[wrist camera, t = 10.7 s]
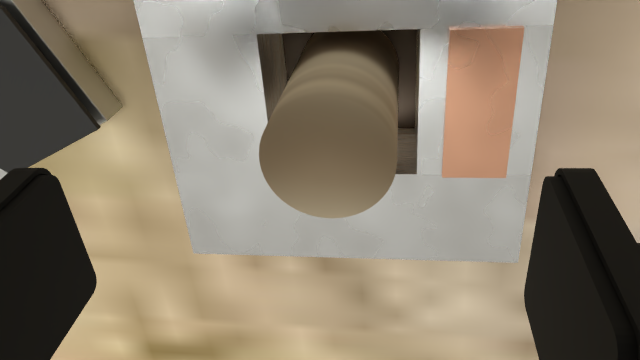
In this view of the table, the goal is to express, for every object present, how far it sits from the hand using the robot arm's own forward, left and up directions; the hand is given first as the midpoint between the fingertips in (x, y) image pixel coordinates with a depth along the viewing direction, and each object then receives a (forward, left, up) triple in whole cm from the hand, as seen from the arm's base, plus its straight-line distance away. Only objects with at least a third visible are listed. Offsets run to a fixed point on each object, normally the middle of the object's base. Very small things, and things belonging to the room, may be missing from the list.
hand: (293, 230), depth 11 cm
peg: (+1, 0, -11) cm, 11 cm away
